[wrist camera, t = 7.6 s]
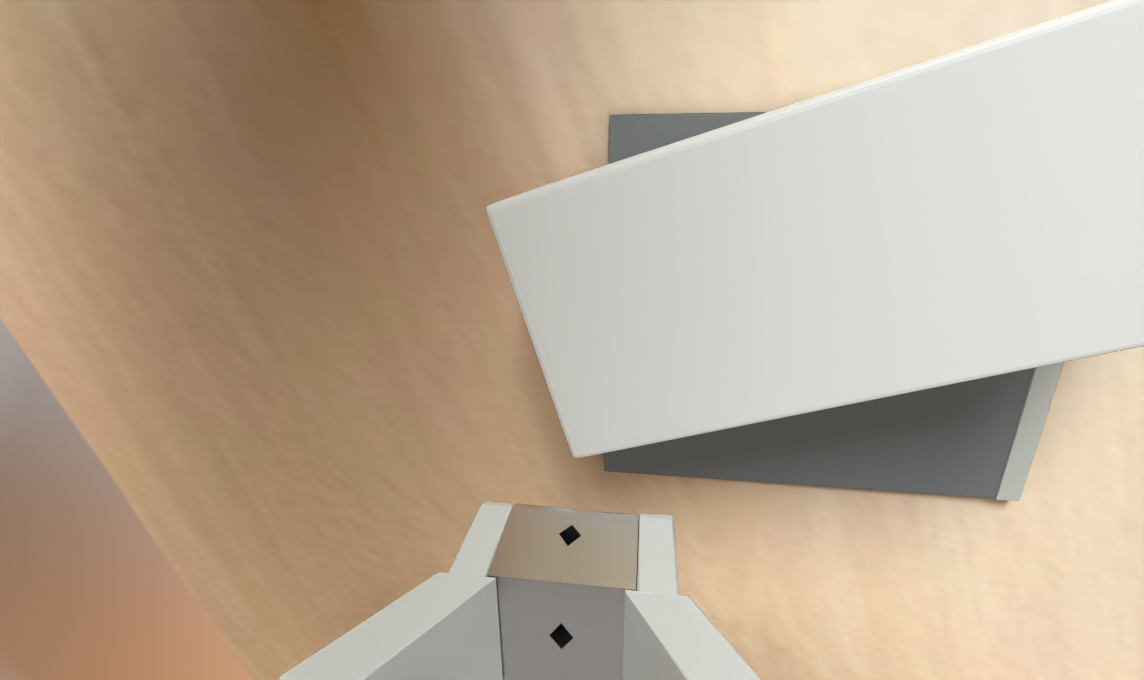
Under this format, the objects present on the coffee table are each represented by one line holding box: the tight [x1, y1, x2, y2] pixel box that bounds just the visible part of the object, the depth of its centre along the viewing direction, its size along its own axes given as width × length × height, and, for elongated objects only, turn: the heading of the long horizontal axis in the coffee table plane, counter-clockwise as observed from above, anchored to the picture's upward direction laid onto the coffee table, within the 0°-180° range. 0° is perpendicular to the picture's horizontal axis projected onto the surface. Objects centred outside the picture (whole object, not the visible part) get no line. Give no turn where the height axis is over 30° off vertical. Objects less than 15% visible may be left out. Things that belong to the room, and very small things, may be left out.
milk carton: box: [486, 0, 1144, 458], centre depth 15 cm, size 7×7×19 cm
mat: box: [604, 112, 1064, 501], centre depth 20 cm, size 14×16×1 cm
